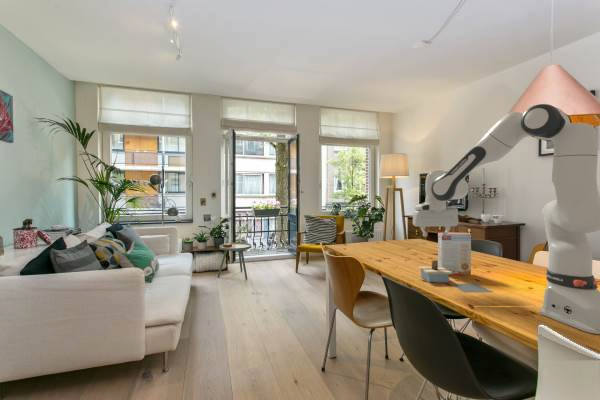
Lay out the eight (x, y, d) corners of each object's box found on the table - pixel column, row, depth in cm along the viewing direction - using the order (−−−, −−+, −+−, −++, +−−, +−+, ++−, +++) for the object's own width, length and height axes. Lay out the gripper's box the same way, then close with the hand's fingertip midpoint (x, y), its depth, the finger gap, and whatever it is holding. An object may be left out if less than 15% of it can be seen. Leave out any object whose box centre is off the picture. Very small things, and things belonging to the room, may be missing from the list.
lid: (452, 274, 137) (452, 263, 137) (428, 274, 137) (428, 263, 137) (440, 268, 148) (440, 258, 148) (418, 268, 148) (418, 258, 148)
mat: (493, 293, 125) (493, 292, 125) (464, 293, 125) (464, 292, 125) (476, 284, 137) (476, 283, 137) (449, 284, 137) (449, 283, 137)
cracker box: (465, 273, 156) (466, 232, 156) (471, 276, 150) (471, 233, 150) (437, 272, 157) (437, 231, 157) (441, 275, 151) (442, 233, 151)
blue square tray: (448, 283, 138) (449, 273, 138) (429, 283, 138) (429, 273, 138) (439, 277, 147) (439, 268, 147) (420, 278, 147) (420, 268, 147)
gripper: (454, 205, 145) (453, 234, 145) (411, 206, 145) (411, 235, 145) (461, 206, 139) (461, 236, 139) (416, 206, 138) (416, 237, 139)
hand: (435, 236), depth 142 cm, fingers open, 8 cm apart
